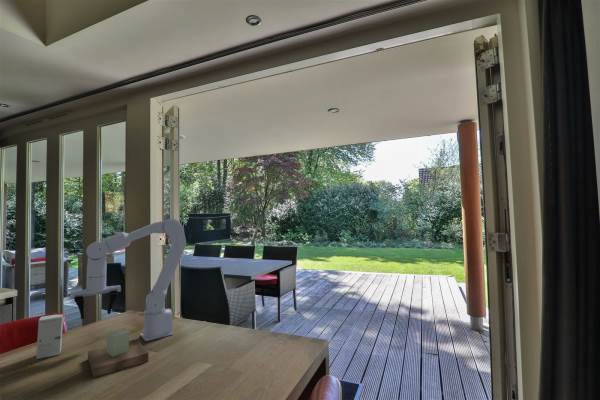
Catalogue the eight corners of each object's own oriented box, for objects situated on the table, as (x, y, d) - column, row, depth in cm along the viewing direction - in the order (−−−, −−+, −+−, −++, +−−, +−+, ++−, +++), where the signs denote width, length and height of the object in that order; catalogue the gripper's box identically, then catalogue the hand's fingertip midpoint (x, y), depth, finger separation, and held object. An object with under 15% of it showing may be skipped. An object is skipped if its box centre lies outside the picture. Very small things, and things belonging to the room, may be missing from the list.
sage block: (122, 347, 96) (122, 328, 96) (128, 351, 93) (129, 331, 94) (106, 352, 92) (107, 333, 93) (112, 356, 90) (113, 336, 90)
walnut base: (137, 346, 103) (137, 338, 103) (148, 361, 92) (148, 352, 92) (87, 359, 93) (88, 351, 94) (93, 377, 83) (93, 368, 83)
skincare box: (35, 359, 94) (37, 320, 94) (38, 354, 98) (39, 316, 98) (60, 354, 97) (61, 316, 98) (62, 349, 101) (63, 313, 102)
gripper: (118, 271, 112) (117, 308, 111) (69, 277, 102) (68, 317, 102) (122, 274, 107) (121, 313, 106) (71, 280, 97) (70, 323, 96)
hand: (95, 315), depth 104 cm, fingers open, 7 cm apart
